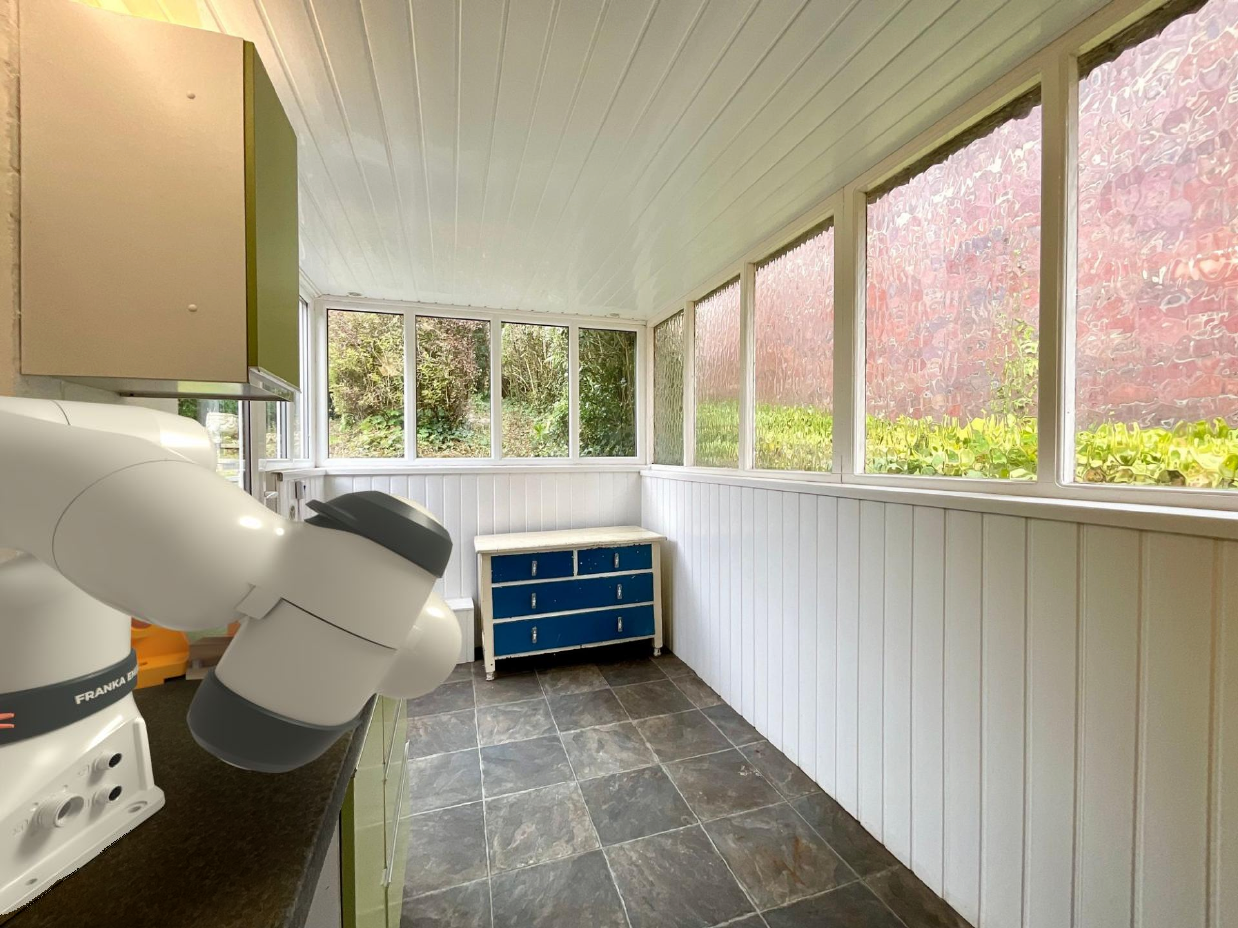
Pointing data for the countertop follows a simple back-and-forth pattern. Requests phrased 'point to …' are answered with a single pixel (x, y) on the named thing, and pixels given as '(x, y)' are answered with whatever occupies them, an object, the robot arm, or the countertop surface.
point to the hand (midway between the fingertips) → (242, 596)
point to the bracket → (158, 653)
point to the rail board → (205, 655)
